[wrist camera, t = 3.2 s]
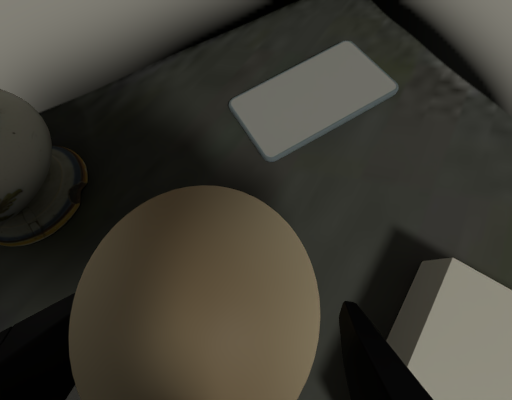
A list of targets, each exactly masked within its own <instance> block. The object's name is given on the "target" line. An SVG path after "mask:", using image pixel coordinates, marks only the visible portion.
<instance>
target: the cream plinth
mask: <svg viewBox="0 0 512 400" xmlns="http://www.w3.org/2000/svg"><path fill="white" fill-rule="evenodd" d="M386 341H387V343H388V344H389V345H390V346H391V348H392V349H393V350H394V351H395V353H396V354H397V355H398V356H399V357H400V359H401V360H402V361H403V362H404V364H405V365H406V366H407V367H408V369H409V370H410V371H411V372H412V374H413V375H414V376H415V377H416V379H417V380H418V381H419V382H420V384H421V385H422V386H423V387H424V389H425V390H426V391H427V392H428V394H429V395H430V396H431V397H432V398H433V400H512V290H510V289H508V288H507V287H505V286H503V285H501V284H499V283H498V282H496V281H494V280H492V279H490V278H489V277H487V276H485V275H483V274H482V273H480V272H478V271H476V270H474V269H473V268H471V267H469V266H467V265H465V264H464V263H462V262H460V261H458V260H456V259H455V258H453V257H452V258H444V259H436V260H428V261H422V263H421V265H420V267H419V269H418V271H417V274H416V276H415V278H414V280H413V283H412V285H411V287H410V289H409V291H408V294H407V296H406V298H405V300H404V302H403V305H402V307H401V309H400V311H399V313H398V316H397V318H396V320H395V322H394V325H393V327H392V329H391V331H390V333H389V336H388V338H387V340H386Z"/></svg>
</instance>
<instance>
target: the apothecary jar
mask: <svg viewBox="0 0 512 400" xmlns="http://www.w3.org/2000/svg"><path fill="white" fill-rule="evenodd" d="M87 183H88V174H87V168H86V165H85V163H84V161H83V160H82V159H81V157H80V156H79V155H78V154H76V153H75V152H73V151H72V150H70V149H68V148H65V147H60V146H52V141H51V136H50V132H49V129H48V127H47V125H46V123H45V121H44V120H43V118H42V117H41V116H40V114H39V113H38V112H37V111H36V110H35V109H34V108H33V107H32V106H31V105H30V104H29V103H27V102H26V101H24V100H23V99H21V98H20V97H18V96H16V95H14V94H12V93H9V92H6V91H3V90H1V89H0V245H3V246H9V247H16V246H24V245H29V244H32V243H35V242H38V241H40V240H42V239H45V238H47V237H48V236H50V235H52V234H53V233H55V232H56V231H57V230H59V229H60V228H61V227H63V226H64V225H65V224H66V223H67V222H68V221H69V220H70V218H71V217H72V216H73V215H74V214H75V212H76V211H77V209H78V208H79V206H80V204H81V201H80V199H81V190H82V189H83V187H85V186H86V185H87Z"/></svg>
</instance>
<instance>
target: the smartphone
mask: <svg viewBox="0 0 512 400" xmlns="http://www.w3.org/2000/svg"><path fill="white" fill-rule="evenodd" d="M397 91H398V84H397V83H396V82H395V81H394V80H393V79H392V78H391V77H390V76H389V75H388V74H386V73H385V72H384V71H383V70H382V69H381V68H380V67H379V66H378V65H377V64H376V63H374V62H373V61H372V60H371V59H370V58H369V57H368V56H367V55H366V54H365V53H364V52H362V51H361V50H360V49H359V48H358V47H357V46H356V45H355V44H354V43H353V42H351V41H342V42H340V43H338V44H336V45H334V46H332V47H330V48H329V49H327V50H325V51H323V52H321V53H319V54H317V55H315V56H313V57H311V58H309V59H307V60H305V61H303V62H302V63H300V64H298V65H296V66H294V67H292V68H290V69H288V70H286V71H284V72H282V73H280V74H278V75H276V76H274V77H273V78H271V79H269V80H267V81H265V82H263V83H261V84H259V85H257V86H255V87H253V88H251V89H249V90H247V91H245V92H244V93H242V94H240V95H238V96H236V97H234V98H232V99H231V100H230V101H229V109H230V111H231V112H232V113H233V115H234V116H235V118H236V119H237V120H238V122H239V123H240V125H241V127H242V128H243V129H244V131H245V132H246V134H247V135H248V137H249V138H250V140H251V141H252V143H253V144H254V146H255V147H256V149H257V150H258V152H259V153H260V155H261V156H262V158H263V159H264V160H266V161H268V162H274V161H276V160H278V159H280V158H282V157H284V156H286V155H287V154H289V153H291V152H293V151H295V150H297V149H298V148H300V147H302V146H304V145H306V144H307V143H309V142H311V141H313V140H315V139H317V138H318V137H320V136H322V135H324V134H326V133H327V132H329V131H331V130H333V129H335V128H336V127H338V126H340V125H342V124H344V123H345V122H347V121H349V120H351V119H353V118H354V117H356V116H358V115H360V114H362V113H363V112H365V111H367V110H369V109H371V108H372V107H374V106H376V105H378V104H379V103H381V102H383V101H385V100H387V99H388V98H390V97H392V96H394V95H395V94H396V92H397Z"/></svg>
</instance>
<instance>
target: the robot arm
mask: <svg viewBox="0 0 512 400" xmlns="http://www.w3.org/2000/svg"><path fill="white" fill-rule="evenodd" d="M74 297H75V293H74V294H72V295H70V296H68V297H66V298H64V299H62V300H61V301H59V302H57V303H55V304H53V305H51V306H49V307H47V308H45V309H44V310H42V311H40V312H38V313H36V314H34V315H32V316H30V317H28V318H27V319H25V320H23V321H21V322H19V323H17V324H15V325H14V326H13V327H9V328H8V329H6V330H4V331H2V332H0V400H65V399H66V398H67V396H68V395H69V393H70V392H71V390H72V389H73V387H74V386H75V381H74V378H73V375H72V369H71V363H70V357H69V324H70V315H71V310H72V305H73V300H74ZM339 325H340V334H341V344H342V354H343V362H344V368H345V373H346V378H347V383H348V388H349V393H350V397H351V400H433V398H432V397H431V396H430V395H429V394H428V392H427V391H426V390H425V389H424V387H423V386H422V385H421V384H420V382H419V381H418V380H417V379H416V377H415V376H414V375H413V374H412V372H411V371H410V370H409V369H408V367H407V366H406V365H405V364H404V362H403V361H402V360H401V359H400V357H399V356H398V355H397V354H396V353H395V351H394V350H393V349H392V348H391V346H390V345H389V344H388V343H387V341H386V340H385V339H384V338H383V336H382V335H381V334H380V333H379V331H378V330H377V329H376V328H375V326H374V325H373V324H372V323H371V321H370V320H369V319H368V318H367V316H366V315H365V314H364V313H363V312H362V310H361V309H360V308H359V307H358V305H357V304H356V303H354V302H349V301H344V302H343V305H342V308H341V311H340V315H339Z"/></svg>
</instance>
